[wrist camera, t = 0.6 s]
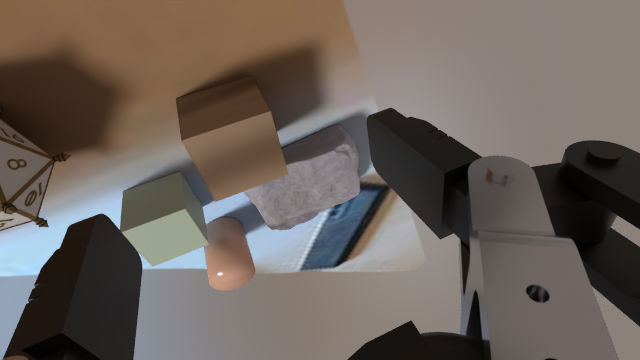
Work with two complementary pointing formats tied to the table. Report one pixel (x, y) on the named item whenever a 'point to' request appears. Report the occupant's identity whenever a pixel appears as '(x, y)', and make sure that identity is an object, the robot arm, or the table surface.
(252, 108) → the walnut cube
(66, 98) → the table surface
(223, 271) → the terracotta cylinder
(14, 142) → the white knobbed polyhedron
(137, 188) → the sage cube
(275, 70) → the table surface
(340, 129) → the stone block
